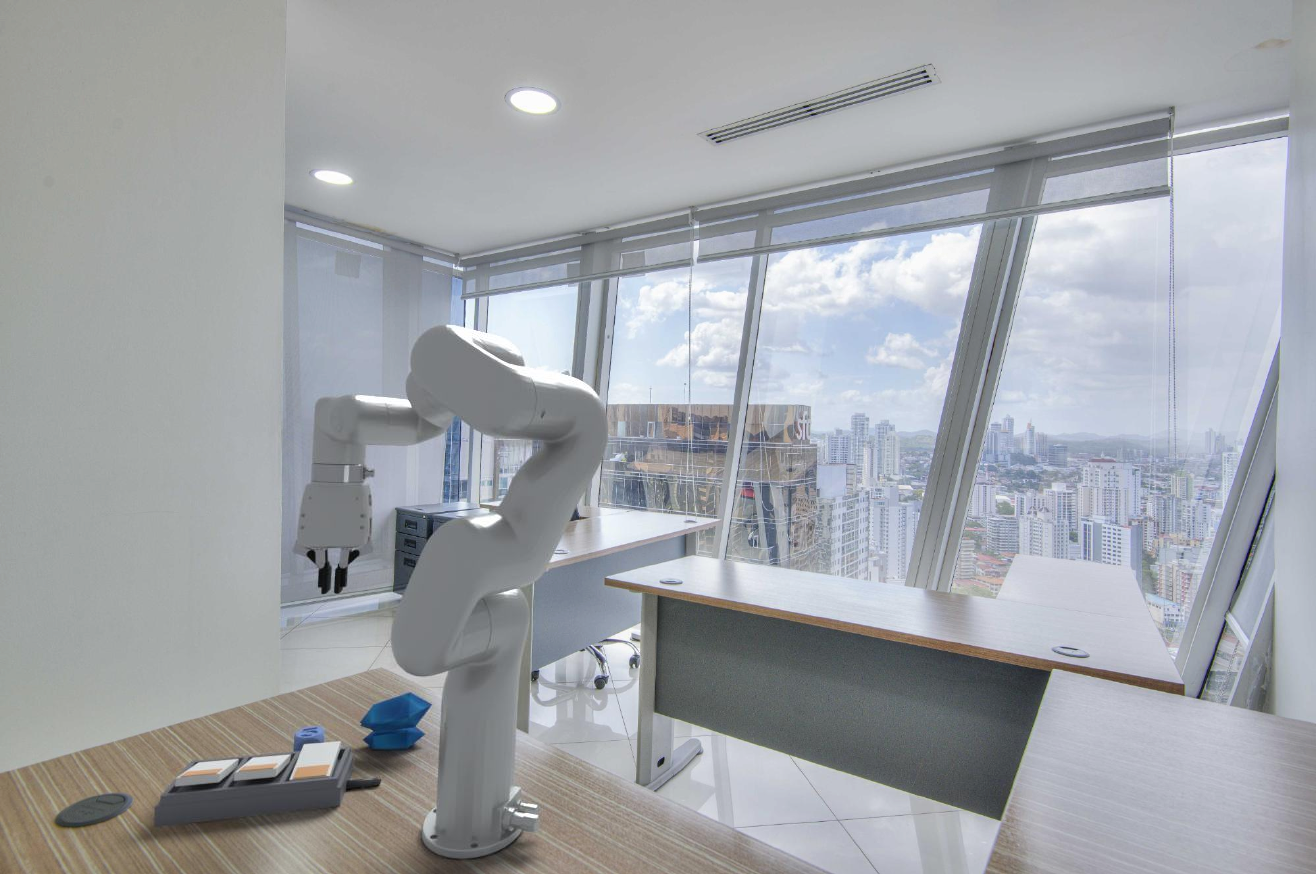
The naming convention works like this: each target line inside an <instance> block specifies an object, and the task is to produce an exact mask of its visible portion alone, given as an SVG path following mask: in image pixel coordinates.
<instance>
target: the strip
mask: <svg viewBox="0 0 1316 874" xmlns="http://www.w3.org/2000/svg"><path fill="white" fill-rule="evenodd" d="M300 753H301V751H297V752H293V751H288V752H285V751H284V752H274V753H263V754H253V755H252V754H251V755H240V756H232V757H220V758H219V757H218V758H207V759H206V758H205V759H195V760H191V761H190V762H189V763H188V764H187V765H186V766H185V767H184V768H183V770H182V771H181V772H179V774H178V776H180V775H181V774H183V773H184V772H185V771H187V770H188V769H190V768H191V767H193V766H194V765H196V764H197V763H199V762H209V761H220V760H232V759H239V761H238V767H237V768H236V769H234V770H233V771H232V772H231V773H229V774H228V776H226V777H225V778H223V779H222V780H221V781H220V782H216V783H206V784H195V785H185V786H175V782H176V778H175V779H174V780H173V781H172V782H171V783H170V784H169V786H168V787H167V788H166V789H165V790H164V791H163V792H162V793H161V795H160V796H159V797H160V798H159V799H160V800H159V801H158V803H156V805H155V806H154V816H153V818H154V819H153V827H154V828H155V827H163V826H164V827H165V826H173V825H180V824H181V825H182V824H191V823H192V824H193V823H199V822H211V821H218V820H220V821H221V820H227V819H235V818H236V819H237V818H244V817H255V816H262V815H263V816H264V815H272V814H280V813H282V814H283V813H291V812H300V811H307V810H317V809H326V808H334V807H341V805H342V802H343V799H344V796H345V794H346V790H347V789H353V788H361V787H372V786H379V785H380V784H381V783H382V778H381V777H379V776H378V777H365V778H357V779H351V777H352V775H353V773H354V758H355V757H354V756H355V754H351V746H346V747H345V746H343V747H342V746H341V748H340V751H339V754H338V758H337V761H336V764H335V767H334V770H333V773H332V776H331V777H328V778H318V779H308V780H298V781H289V780H290V777H291V775H292V772H293V770H294V767H295V765H296V763H297V760H298V758H299V755H300ZM288 754H291V759H290V763H289V764H288V765H287V766H286V767H285V768H284V769H283V770H282V771H281V772H280V773H279V774H278V775H277V776H276V777H268V778H257V779H247V780H237V781H234V775H235V772H236V771H237V770H238V769H240V768H241V767H242V766H243V765H244V764H246V763H247V762H248V761H249V760H250V759H252V758H254V757H266V756H277V755H288ZM178 776H177V777H178Z"/></svg>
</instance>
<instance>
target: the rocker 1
mask: <svg viewBox="0 0 1316 874" xmlns="http://www.w3.org/2000/svg"><path fill="white" fill-rule="evenodd" d="M238 761H239V759H232V760H220V761H209V762H199V763H197V764H196V765H194V766H193V767H191V768H190V769H188V770H187V771H185V772H184V773H183V774H181V775H180V776H177V777H176V778H175V779H176V782H175V786H185V785H195V784H206V783H216V782H220V781H221V780H222V779H223V778H225V777H226V776H228V774H229V773H231V772H232V771H233V770H234V769H236V768H237V767H238Z"/></svg>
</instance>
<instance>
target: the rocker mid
mask: <svg viewBox="0 0 1316 874" xmlns="http://www.w3.org/2000/svg"><path fill="white" fill-rule="evenodd" d="M290 759H291V754H288V755H277V756H266V757H254V758H252V759H250V760H249V761H248V762H247V763H246V764H244V765H243V766H242V767H241V768H240V769H238V770H237V771H236V772H235V775H234V781H237V780H247V779H257V778H268V777H276V776H277V775H278V774H279V773H280V772H281V771H282V770H283V769H284V768H285V767H286V766H287V765H288V764H289V763H290Z"/></svg>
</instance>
